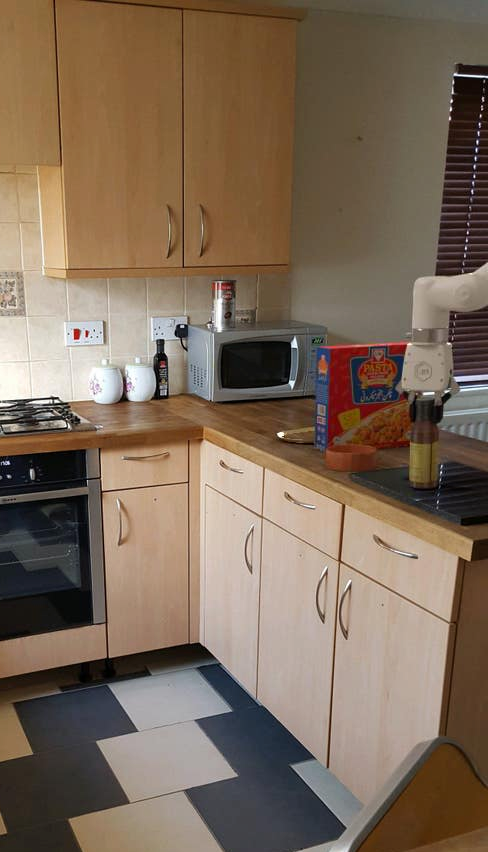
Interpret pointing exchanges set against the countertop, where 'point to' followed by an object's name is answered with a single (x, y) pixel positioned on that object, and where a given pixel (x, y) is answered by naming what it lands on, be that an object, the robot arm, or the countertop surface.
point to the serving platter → (296, 432)
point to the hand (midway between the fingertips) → (425, 421)
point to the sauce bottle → (424, 446)
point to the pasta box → (361, 396)
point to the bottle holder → (350, 457)
